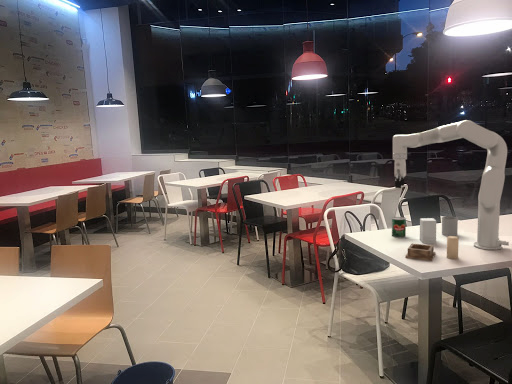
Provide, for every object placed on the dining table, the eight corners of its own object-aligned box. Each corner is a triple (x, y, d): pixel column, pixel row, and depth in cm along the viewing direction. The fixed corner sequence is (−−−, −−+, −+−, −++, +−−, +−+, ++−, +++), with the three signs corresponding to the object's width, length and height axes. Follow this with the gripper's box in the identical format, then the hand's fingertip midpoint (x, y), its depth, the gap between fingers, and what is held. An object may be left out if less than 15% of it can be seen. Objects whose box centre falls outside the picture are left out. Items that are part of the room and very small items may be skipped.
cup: (460, 235, 231) (461, 218, 229) (450, 236, 228) (450, 220, 226) (448, 232, 239) (449, 215, 237) (438, 233, 236) (438, 217, 234)
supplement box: (436, 243, 217) (436, 220, 215) (422, 243, 218) (422, 220, 217) (433, 239, 224) (433, 217, 222) (419, 239, 226) (419, 218, 224)
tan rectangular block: (458, 256, 192) (459, 236, 191) (457, 259, 188) (458, 239, 187) (447, 255, 195) (447, 235, 194) (446, 258, 191) (446, 238, 189)
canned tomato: (396, 238, 231) (396, 219, 229) (389, 235, 238) (389, 217, 237) (408, 236, 232) (408, 218, 231) (400, 233, 240) (400, 216, 238)
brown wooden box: (435, 253, 198) (435, 245, 198) (431, 260, 188) (431, 251, 188) (410, 251, 205) (410, 242, 204) (405, 257, 195) (405, 248, 194)
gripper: (404, 157, 213) (404, 189, 215) (409, 155, 227) (409, 185, 230) (389, 158, 216) (389, 188, 219) (395, 156, 231) (395, 184, 233)
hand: (399, 186), depth 224 cm, fingers open, 9 cm apart
